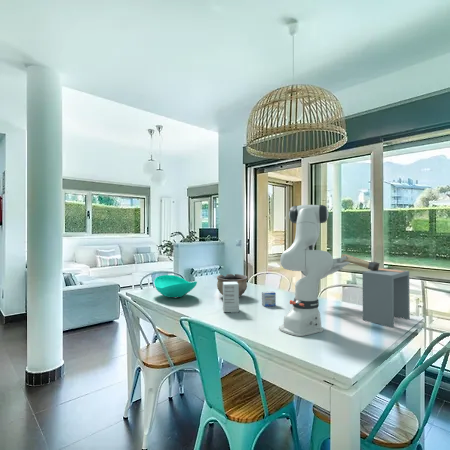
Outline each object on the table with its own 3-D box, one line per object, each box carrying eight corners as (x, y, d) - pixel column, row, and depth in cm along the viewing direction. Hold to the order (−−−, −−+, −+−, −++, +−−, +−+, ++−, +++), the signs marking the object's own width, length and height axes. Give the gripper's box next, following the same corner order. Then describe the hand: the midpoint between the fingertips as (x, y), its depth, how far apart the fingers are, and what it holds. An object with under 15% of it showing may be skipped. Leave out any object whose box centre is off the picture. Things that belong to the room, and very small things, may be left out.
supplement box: (239, 312, 178) (239, 284, 178) (223, 313, 177) (223, 284, 177) (237, 308, 187) (237, 281, 187) (222, 308, 187) (222, 281, 187)
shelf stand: (392, 327, 151) (391, 274, 151) (362, 320, 162) (362, 271, 162) (409, 318, 164) (409, 270, 164) (381, 312, 176) (381, 267, 176)
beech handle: (372, 270, 166) (374, 263, 165) (340, 259, 185) (341, 252, 184) (378, 270, 168) (379, 263, 168) (345, 258, 187) (346, 252, 186)
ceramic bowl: (241, 292, 231) (240, 273, 231) (252, 299, 210) (252, 277, 210) (213, 294, 224) (213, 274, 224) (222, 301, 203) (222, 279, 203)
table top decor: (206, 299, 210) (206, 280, 210) (170, 305, 194) (170, 285, 194) (179, 289, 242) (179, 273, 242) (146, 294, 225) (146, 277, 225)
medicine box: (264, 307, 190) (264, 293, 190) (261, 305, 194) (261, 291, 194) (275, 306, 192) (275, 292, 192) (272, 304, 196) (272, 291, 196)
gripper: (319, 262, 186) (337, 253, 177) (337, 260, 199) (355, 251, 190) (324, 272, 184) (342, 262, 174) (342, 269, 197) (359, 260, 187)
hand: (349, 256), depth 182 cm, fingers closed on beech handle, 4 cm apart
